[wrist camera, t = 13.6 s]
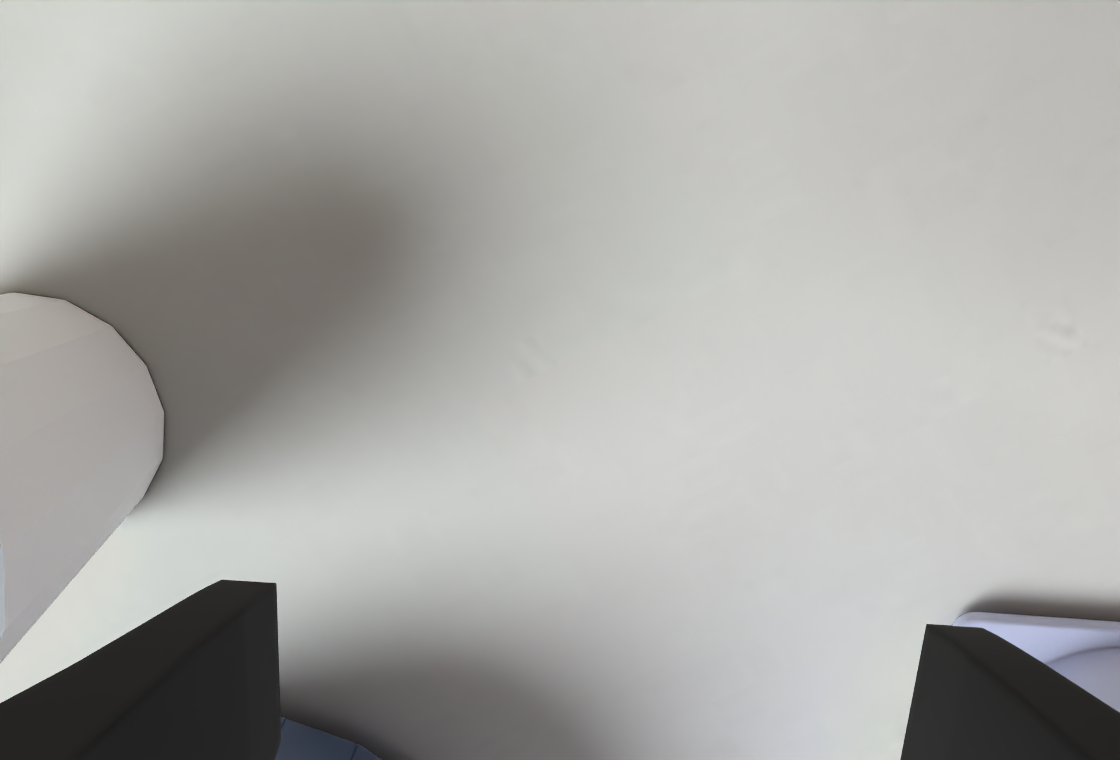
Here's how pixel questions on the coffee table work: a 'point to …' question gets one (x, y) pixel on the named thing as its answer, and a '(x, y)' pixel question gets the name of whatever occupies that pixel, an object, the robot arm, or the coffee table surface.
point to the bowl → (317, 745)
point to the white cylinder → (65, 448)
